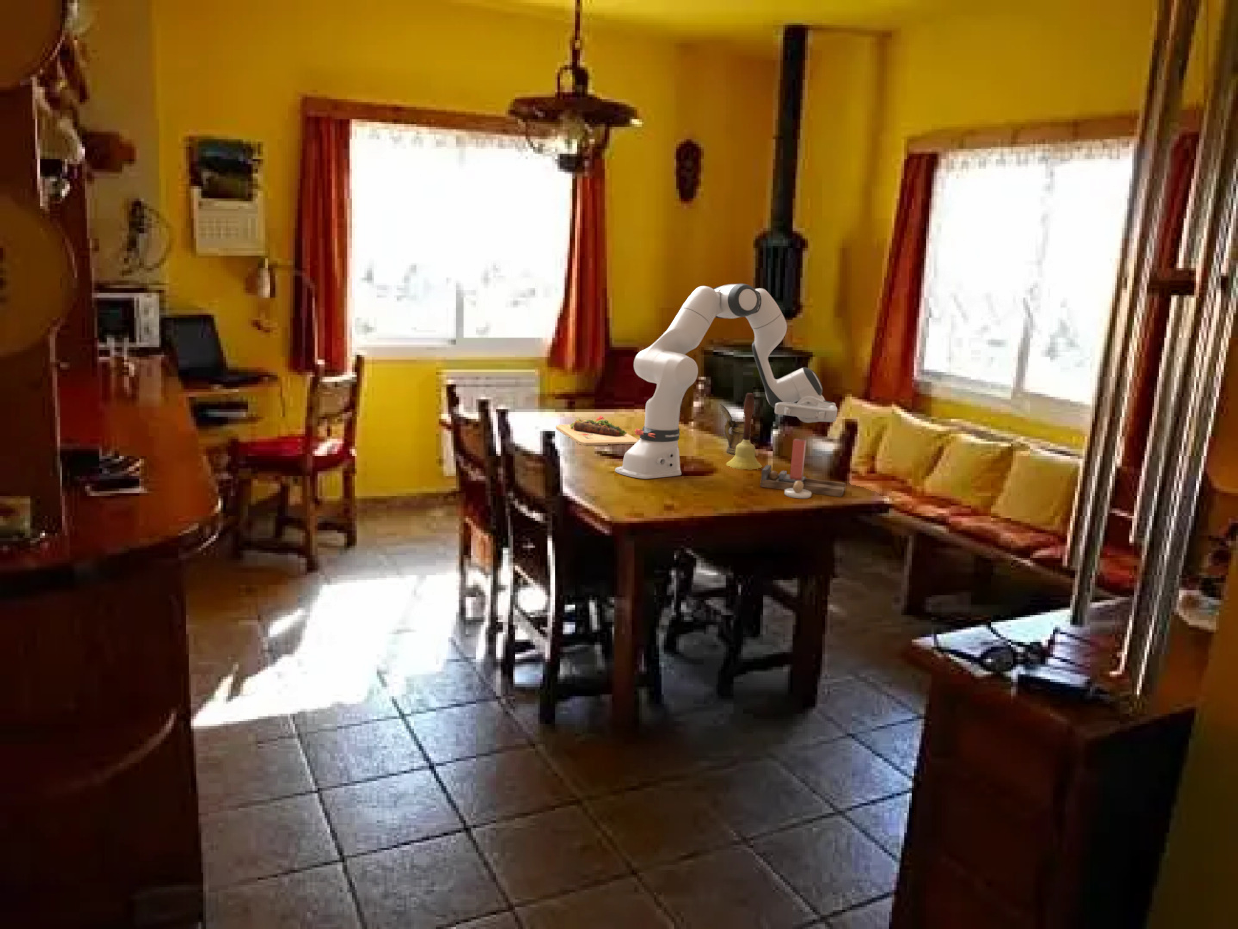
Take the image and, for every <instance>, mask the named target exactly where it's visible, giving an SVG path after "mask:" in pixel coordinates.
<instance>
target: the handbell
mask: <svg viewBox="0 0 1238 929" xmlns="http://www.w3.org/2000/svg"><path fill="white" fill-rule="evenodd" d="M754 409H755V399H754V393H752V392H747V393H745V399H744V403H743V415H744V421H743V422H744V435H743V441H742V442H741V443H739V444H738V445H737V446H736V451H735V455H733V457H732V458H731V459H730V460H729V461H727V462H726V463H725V465H726V466H727V467H728V466H730V467H729V468H731V467H732V468H731V469H735V468H736V469H737V470H743V469H748V470H747V471H753V470H752V469H757V470H759V469H758V468H761V467H762V468H763V465H762V464H761V463H760V462H759V461H758V460H757V458H756V447H755V445H754V444H752V443H751V432H750V428H751V427H752V426H751V424H752V416H753V415H754ZM749 438H750V440H749ZM762 468H761V469H762ZM736 469H735V470H736Z"/></svg>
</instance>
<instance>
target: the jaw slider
mask: <svg viewBox="0 0 1238 929" xmlns="http://www.w3.org/2000/svg"><path fill="white" fill-rule="evenodd" d="M806 444H807V439H803V438H794V439H793V440H792V452H791V460H790V472H789V474H787V472H788V471H787V470H781V471H780V472H779V473H778V475H779V481H780V482H788V483H795V482H796V481H802V482H803V484H804V483H805V480H806V478H807V476H805V475H804V469H805V468H804V466H805V459H806V458H805V456H806V448H807V447H806V446H807V445H806Z"/></svg>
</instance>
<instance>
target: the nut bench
mask: <svg viewBox="0 0 1238 929" xmlns="http://www.w3.org/2000/svg"><path fill="white" fill-rule="evenodd" d="M759 483H760V484H759V487H761V488H767V489H768V488H769V489H777V490H784V491H785V489H788V488H793V485H794V483H788V482H780V481H779V473H778V472H777V471H776V470H772V465H771V464H766V465H765V466H764V467H762V468H761V478H760V482H759ZM803 489H805V490H809V491H811V494H815V495H816V494H817V495H825V496H831V497H839V498H841V497H843V495H844V492H845V490H846V482H839V481H832V480H831V481H830V480H825V479H824V480H822V479H816V478H815V479H814V478H807V477H806V480H805V483H804V487H803Z"/></svg>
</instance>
